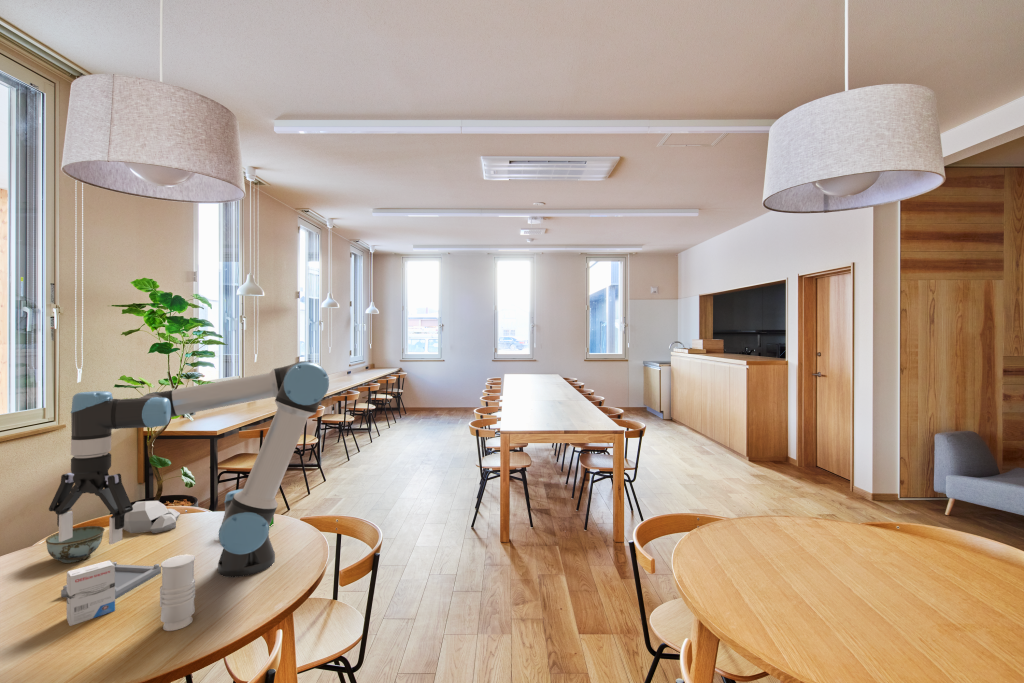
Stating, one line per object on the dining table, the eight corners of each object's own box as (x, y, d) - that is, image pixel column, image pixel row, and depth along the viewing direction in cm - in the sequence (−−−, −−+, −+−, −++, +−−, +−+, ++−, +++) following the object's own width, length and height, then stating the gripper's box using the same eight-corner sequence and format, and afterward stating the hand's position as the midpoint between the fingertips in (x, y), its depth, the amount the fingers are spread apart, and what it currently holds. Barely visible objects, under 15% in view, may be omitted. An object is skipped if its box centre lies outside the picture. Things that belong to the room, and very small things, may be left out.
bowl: (32, 567, 143) (33, 540, 143) (82, 548, 156) (82, 524, 156) (67, 572, 140) (67, 545, 140) (115, 552, 153) (115, 527, 153)
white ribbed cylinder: (157, 623, 115) (157, 560, 115) (191, 611, 120) (191, 551, 120) (162, 635, 110) (162, 570, 110) (198, 623, 115) (198, 560, 115)
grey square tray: (160, 573, 140) (160, 563, 140) (113, 600, 125) (113, 590, 125) (113, 571, 141) (113, 561, 141) (61, 597, 126) (61, 587, 126)
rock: (178, 515, 187) (178, 490, 188) (184, 530, 172) (184, 503, 172) (118, 526, 176) (118, 500, 176) (118, 544, 160) (118, 515, 161)
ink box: (110, 604, 123) (110, 558, 123) (115, 611, 120) (115, 564, 120) (65, 619, 116) (66, 570, 117) (69, 627, 113) (69, 576, 113)
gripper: (150, 452, 121) (150, 536, 121) (61, 449, 123) (60, 532, 123) (124, 459, 113) (123, 549, 113) (29, 456, 116) (28, 544, 116)
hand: (90, 540), depth 118 cm, fingers open, 13 cm apart
